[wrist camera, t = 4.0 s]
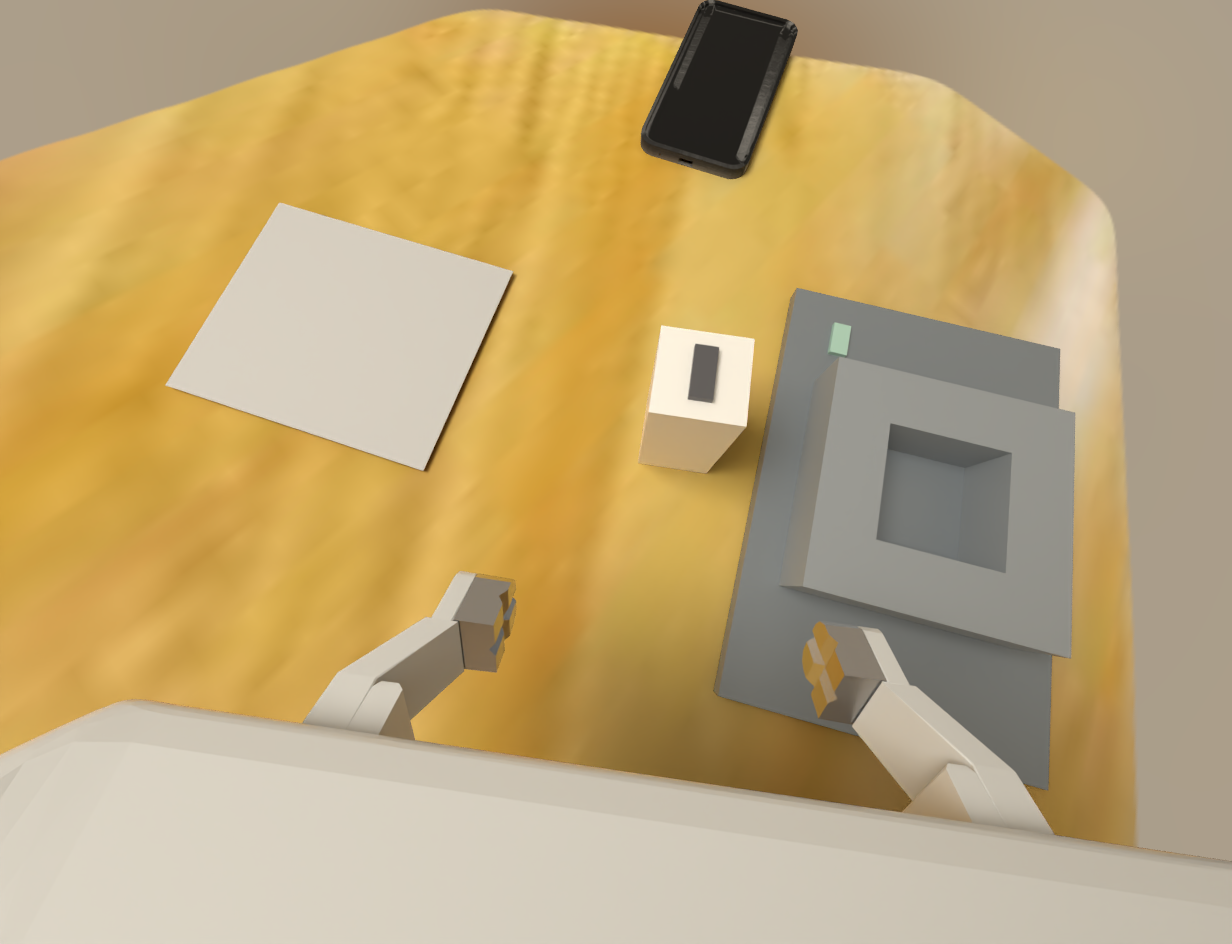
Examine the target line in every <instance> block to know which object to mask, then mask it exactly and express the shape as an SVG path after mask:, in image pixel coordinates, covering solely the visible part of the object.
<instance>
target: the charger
mask: <svg viewBox="0 0 1232 944" xmlns="http://www.w3.org/2000/svg"><path fill="white" fill-rule="evenodd" d="M753 350H754V339H751V338H744V337H737V336H730V335H723V334H717V333H710V332H703V331H696V330H689V329H682V328H675V327H668V326H661V331H660V336H659V341H658V347H657V352H656V357H655V362H654V368H653V373H652V378H651V383H650V389H649V394H648V399H647V406H646V412H645V419H644V426H643V432H642V439H641V445H640V452H639V459H638V463H640V464H647V465H653V466H660V467H666V468H673V469H679V470H686V471H692V472H699V473H705V474H706V473H707V472H708V471H709V470H710V468H711V467H712V466H713V465H714V464H715V463H716V462H717V460H718V459H719V458H720V457H721V456H722V455H723V453H724V452H725V451H726V450H727V449H728V448H729V446H730V445H731V444H732V443H733V442H734V441H735V439H736V438H737V437H738V436H739V435H740V434H741V433H742V431H743V430H744V429H745V428H746V427H747V416H748V405H749V394H750V383H751V372H752V361H753Z"/></svg>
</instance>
